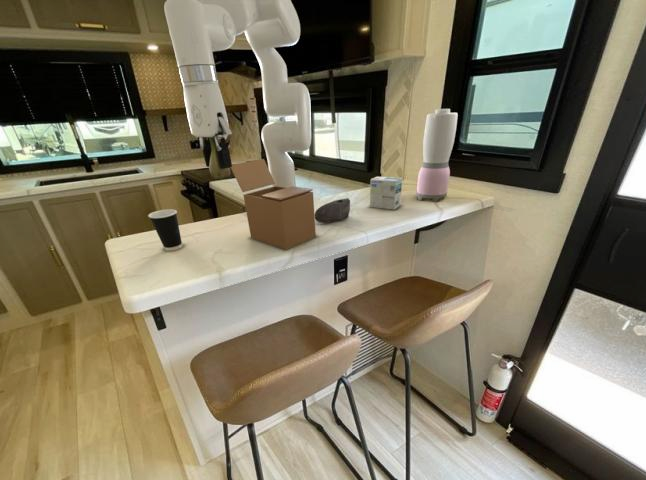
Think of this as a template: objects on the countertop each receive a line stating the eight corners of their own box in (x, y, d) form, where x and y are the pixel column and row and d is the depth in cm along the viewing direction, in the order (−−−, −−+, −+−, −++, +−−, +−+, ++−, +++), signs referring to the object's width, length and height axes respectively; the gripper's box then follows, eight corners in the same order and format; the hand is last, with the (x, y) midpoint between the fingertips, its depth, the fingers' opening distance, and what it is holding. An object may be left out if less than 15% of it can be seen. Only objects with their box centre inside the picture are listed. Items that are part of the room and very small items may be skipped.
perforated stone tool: (318, 226, 107) (317, 206, 103) (311, 222, 111) (310, 203, 107) (355, 218, 112) (355, 199, 109) (347, 215, 116) (347, 196, 113)
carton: (251, 238, 101) (242, 191, 93) (280, 227, 109) (275, 183, 101) (286, 249, 91) (280, 198, 83) (315, 236, 99) (312, 189, 91)
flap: (243, 191, 93) (242, 192, 94) (275, 183, 101) (274, 184, 101) (230, 165, 92) (229, 165, 92) (263, 158, 100) (263, 159, 100)
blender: (441, 202, 124) (456, 109, 107) (412, 199, 130) (421, 110, 113) (450, 193, 135) (465, 107, 118) (423, 191, 141) (433, 109, 124)
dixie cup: (156, 248, 98) (144, 213, 92) (181, 240, 102) (170, 207, 97) (165, 254, 93) (153, 218, 87) (191, 246, 97) (180, 212, 92)
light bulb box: (400, 205, 123) (403, 177, 118) (394, 210, 119) (396, 180, 113) (375, 203, 128) (377, 175, 123) (369, 207, 124) (370, 179, 118)
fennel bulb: (223, 181, 75) (211, 125, 69) (206, 181, 77) (192, 126, 70) (236, 176, 80) (225, 122, 73) (219, 176, 81) (207, 123, 75)
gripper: (164, 81, 70) (188, 167, 80) (204, 73, 60) (225, 173, 70) (195, 80, 74) (213, 162, 84) (236, 73, 64) (252, 167, 74)
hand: (219, 166), depth 77 cm, fingers closed on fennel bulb, 5 cm apart
